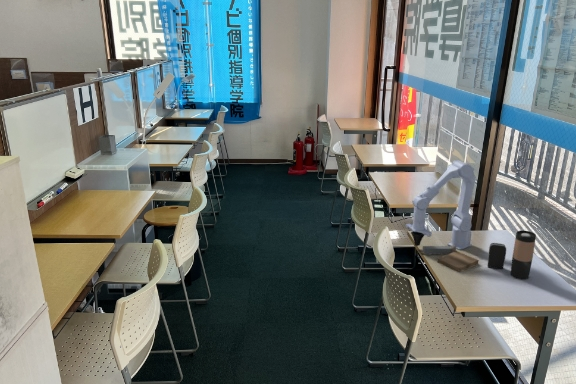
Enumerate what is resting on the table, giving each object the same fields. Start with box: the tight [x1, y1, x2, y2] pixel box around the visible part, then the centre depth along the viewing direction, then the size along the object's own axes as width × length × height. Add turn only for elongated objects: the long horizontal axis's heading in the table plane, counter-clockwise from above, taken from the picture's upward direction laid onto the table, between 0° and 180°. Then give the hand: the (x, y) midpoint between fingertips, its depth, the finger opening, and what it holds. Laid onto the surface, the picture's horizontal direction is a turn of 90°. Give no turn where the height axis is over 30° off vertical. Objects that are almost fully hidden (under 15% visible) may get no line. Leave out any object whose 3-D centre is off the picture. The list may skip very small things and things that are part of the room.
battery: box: [486, 242, 507, 270], centre depth 201 cm, size 7×4×11 cm, turn 69°
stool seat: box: [436, 245, 479, 273], centre depth 207 cm, size 15×15×4 cm
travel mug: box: [510, 229, 537, 280], centre depth 191 cm, size 8×8×20 cm
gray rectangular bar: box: [422, 245, 451, 255], centre depth 216 cm, size 13×3×3 cm, turn 88°
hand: (417, 245), depth 222 cm, fingers closed
